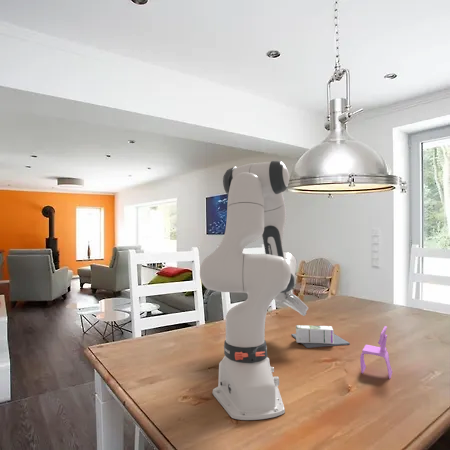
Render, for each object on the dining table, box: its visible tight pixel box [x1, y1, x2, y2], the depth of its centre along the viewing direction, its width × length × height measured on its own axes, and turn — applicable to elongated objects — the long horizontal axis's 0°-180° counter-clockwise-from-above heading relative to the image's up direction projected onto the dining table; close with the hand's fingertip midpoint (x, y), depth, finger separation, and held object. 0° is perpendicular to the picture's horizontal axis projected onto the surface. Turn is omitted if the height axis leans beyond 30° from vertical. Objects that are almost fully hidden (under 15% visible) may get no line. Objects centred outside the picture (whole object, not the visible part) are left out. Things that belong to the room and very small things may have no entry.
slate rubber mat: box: [291, 333, 350, 349], centre depth 146 cm, size 16×18×1 cm
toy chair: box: [359, 325, 393, 379], centre depth 113 cm, size 8×9×15 cm
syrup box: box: [295, 324, 335, 344], centre depth 142 cm, size 6×6×14 cm
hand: (304, 314), depth 145 cm, fingers closed
